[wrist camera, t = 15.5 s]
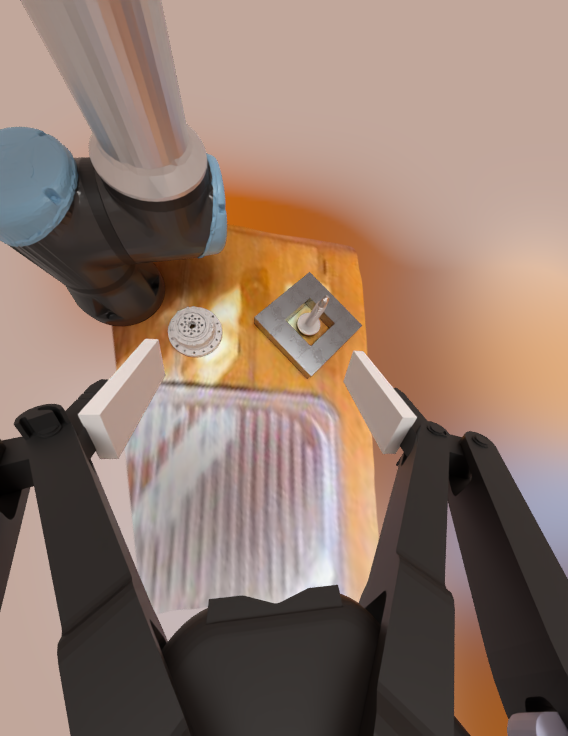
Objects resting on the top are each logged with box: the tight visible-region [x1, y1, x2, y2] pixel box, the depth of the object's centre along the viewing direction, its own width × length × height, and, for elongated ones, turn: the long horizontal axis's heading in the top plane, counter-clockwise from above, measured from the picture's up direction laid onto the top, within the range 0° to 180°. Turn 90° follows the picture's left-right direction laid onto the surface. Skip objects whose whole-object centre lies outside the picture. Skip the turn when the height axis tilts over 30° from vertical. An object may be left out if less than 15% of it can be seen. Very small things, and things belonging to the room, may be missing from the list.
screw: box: [297, 295, 329, 335], centre depth 43 cm, size 13×5×5 cm
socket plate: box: [254, 272, 362, 379], centre depth 48 cm, size 16×16×3 cm
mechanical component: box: [168, 306, 222, 357], centre depth 44 cm, size 10×4×10 cm
